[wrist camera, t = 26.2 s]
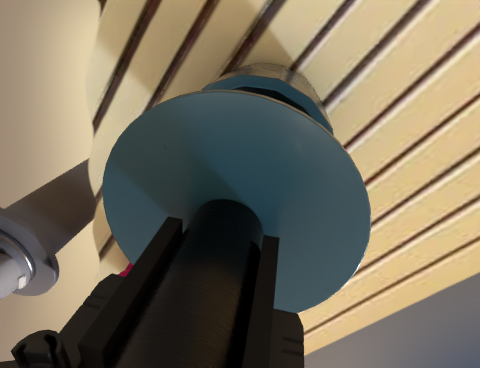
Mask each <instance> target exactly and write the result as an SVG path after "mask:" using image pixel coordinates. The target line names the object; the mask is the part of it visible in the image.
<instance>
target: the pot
mask: <svg viewBox="0 0 480 368" xmlns="http://www.w3.org/2000/svg"><path fill="white" fill-rule="evenodd" d="M218 89H223V90H238V91H245V92H250V93H255V94H260V95H264V96H267V97H270V98H273V99H276V100H278V101H281V102H284V103H286V104H288V105H290V106H292V107H294V108H296V109H298V110H300V111H302V112H304V113H305V114H307V115H308V116H310V117H311V118H312V119H314V120H315V121H317V122H318V123H320V124H321V125H322V126H323V127H324V128H325V129H327V130H328V131H329V132H330V133H331V134H332V135H333V129H332V126H331V124H330V121H329V118H328V116H327V113H326V111H325V108H324V105H323V103H322V101H321V100H320V98H319V97H318V95H317V93H316V92H315V90H314V89H313V88H312V86H311V85H310V83H309V82H308V81H307V80H306V79H304V78H303V77H301V76H300V75H299V74H297V73H296V72H294V71H292V70H290V69H288V68H287V67H284V66H279V65H274V64H263V63H255V64H252V65H248V66H244V67H242V68H239V69H236V70H232V71H230V72H229V73H227V74H225V75H223V76H222V77H220V78H218V79H216V80H215V81H213V82H211V83H209V84H208V85H206V86H205V87H204V88H203V89H202V90H201V91H205V90H218ZM333 136H334V135H333Z"/></svg>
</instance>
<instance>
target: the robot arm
mask: <svg viewBox="0 0 480 368" xmlns="http://www.w3.org/2000/svg"><path fill="white" fill-rule="evenodd" d="M182 234H183V219H180V218H174V217H169V216H168V217H167V218H166V220H165V221H164V223H163V224H162V226H161V227H160V228H159V230H158V231H157V233H156V234H155V235H154V237H153V238H152V240H151V241H150V243H149V244H148V245H147V247H146V248H145V250H144V251H143V253H142V254H141V255H140V257H139V258H138V260H137V261H136V262H135V264H134V265H133V267H132V268H131V270H130V271H129V272H128V274H127V275H126V277H125V276H120V275H116V274H110V275H109V276H108V277H106V278H105V279H103V280H102V281H100V282H99V283H98V285H97V286H96V287H95V288H94V290H93V291H92V292H91V294H90V296H88V297H87V299H86V300H85V301H84V303H83V305H81V306H80V307H79V309H78V310H77V311H76V312H75V314H74V315H73V316H72V318H71V319H70V320H69V322H67V324H66V325H65V326H64V327H63V329H62V330H61V331H60V333H59V334H58V333H57V332H56V331H52V330H42V331H37V332H35V333H33V334H30V335H28V336H27V337H25V338H24V339H22V340H21V341H19V342H18V343H17V345H16V346H15V347H14V348H13V349H12V350H11V353H12V355H13V356H14V358H15V360H13V361H5V362H0V368H106V367H107V366H108V364H109V362H110V360H111V359H112V357H113V355H114V353H115V352H116V350H117V348H118V346H119V345H120V343H121V341H122V339H123V338H124V336H125V334H126V332H127V331H128V329H129V327H130V325H131V324H132V322H133V320H134V318H135V317H136V315H137V313H138V311H139V309H140V308H141V306H142V304H143V302H144V301H145V299H146V297H147V295H148V294H149V292H150V290H151V288H152V287H153V285H154V283H155V281H156V280H157V278H158V276H159V274H160V273H161V271H162V269H163V267H164V266H165V264H166V262H167V260H168V259H169V257H170V255H171V253H172V252H173V250H174V248H175V246H176V245H177V243H178V241H179V239H180V238H181V236H182ZM279 240H280V238H279V237H274V236H268V235H264V236H263V242H262V247H261V253H260V259H259V265H258V271H257V277H256V283H255V289H254V295H253V301H252V307H251V313H250V319H249V325H248V331H247V337H246V343H245V349H244V355H243V361H242V367H241V368H304V344H303V343H304V331H303V325H302V323H301V320H300V318H299V316H298V314H297V313H292V312H288V311H283V310H279V309H274V298H275V287H276V275H277V263H278V251H279ZM35 274H36V266H35V263H34V260H33V258H32V256H31V255H30V253H29V252H28V251H27V249H26V248H25V247H24V246H23V245H22V244H21V243H20V242H19V241H18V240H16V239H15V238H14V237H12V236H11V235H9V234H8V233H6V232H4V231H3V230H1V229H0V300H1V299H3V298H4V297H6V296H8V295H9V294H11V293H12V292H15V291H18V290H20V289H21V288H23V287H24V286H26V285H27V284H28V283H29V282H30V281H31V280H32V279H33V278H34V277H35Z"/></svg>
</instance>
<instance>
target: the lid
mask: <svg viewBox="0 0 480 368" xmlns="http://www.w3.org/2000/svg"><path fill="white" fill-rule="evenodd" d="M102 193H103V204H104V209H105V213H106V218H107V221H108V224H109V226H110V229H111V232H112V234H113V236H114V238H115V240H116V241H117V243H118V245H119V247H120V248H121V250H122V251H123V253H124V254H125V256H126V257H127V258H128V259H129V261H130V262H131V263H132V264H133V265H134V264H135V262H136V261H137V260H138V258H139V257H140V255H141V254H142V253H143V251H144V250H145V248H146V247H147V245H148V244H149V243H150V241H151V240H152V238H153V237H154V235H155V234H156V233H157V231H158V230H159V228H160V227H161V226H162V224H163V223H164V221H165V220H166V218H167V217H168V216H169V217H174V218H180V219H183V234H182V236H181V238H180V239H179V241H178V243H177V245H176V246H175V248H174V250H173V252H172V253H171V255H170V257H169V259H168V260H167V262H166V264H165V266H164V267H163V269H162V271H161V273H160V274H159V276H158V278H157V280H156V281H155V283H154V285H153V287H152V288H151V290H150V292H149V294H148V295H147V297H146V299H145V301H144V302H143V304H142V306H141V308H140V309H139V311H138V313H137V315H136V317H135V318H134V320H133V322H132V324H131V325H130V327H129V329H128V331H127V332H126V334H125V336H124V338H123V339H122V341H121V343H120V345H119V346H118V348H117V350H116V352H115V353H114V355H113V357H112V359H111V360H110V362H109V364H108V366H107V367H106V368H241V367H242V361H243V355H244V349H245V343H246V337H247V331H248V325H249V319H250V313H251V307H252V301H253V295H254V289H255V283H256V277H257V271H258V265H259V259H260V253H261V247H262V242H263V236H264V235H268V236H274V237H279V238H280V240H279V251H278V263H277V275H276V287H275V298H274V309H279V310H283V311H288V312H292V313H299V312H302V311H304V310H307V309H309V308H312V307H314V306H316V305H318V304H320V303H321V302H323V301H325V300H327V299H328V298H330V297H331V296H332V295H334V294H335V293H336V292H338V291H339V290H340V289H341V288H342V287H343V286H344V285H345V284H346V283H347V282H348V281H349V280H350V278H351V277H352V276H353V274H354V273H355V272H356V270H357V269H358V267H359V265H360V263H361V261H362V259H363V257H364V255H365V252H366V249H367V246H368V243H369V238H370V231H371V208H370V203H369V198H368V193H367V190H366V188H365V185H364V182H363V180H362V177H361V175H360V172H359V170H358V169H357V167H356V165H355V164H354V162H353V160H352V158H351V157H350V155H349V154H348V152H347V151H346V150H345V149H344V147H343V146H342V145H341V144H340V142H339V141H338V140H337V139H336V138H335V137H334V136H333V135H332V134H331V133H330V132H329V131H328V130H327V129H325V128H324V127H323V126H322V125H321V124H320V123H318V122H317V121H315V120H314V119H312V118H311V117H310V116H308V115H307V114H305V113H304V112H302V111H300V110H298V109H296V108H294V107H292V106H290V105H288V104H286V103H284V102H281V101H278V100H276V99H273V98H270V97H267V96H264V95H260V94H255V93H250V92H245V91H238V90H223V89H218V90H205V91H197V92H192V93H188V94H183V95H179V96H177V97H174V98H172V99H169V100H167V101H164V102H162V103H160V104H158V105H156V106H155V107H153V108H151V109H149V110H148V111H146V112H144V113H143V114H142V115H140V116H139V117H138V118H137V119H136V120H134V121H133V122H132V123H131V124H130V125H129V126H128V127H127V128H126V129H125V131H124V132H123V133H122V134H121V135H120V136H119V138H118V140H117V141H116V143H115V145H114V146H113V148H112V150H111V152H110V155H109V158H108V160H107V163H106V167H105V171H104V176H103V190H102Z"/></svg>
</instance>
